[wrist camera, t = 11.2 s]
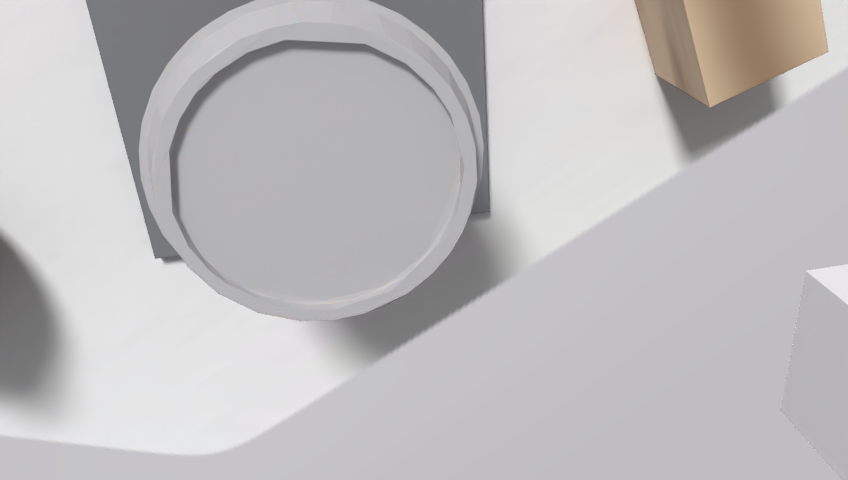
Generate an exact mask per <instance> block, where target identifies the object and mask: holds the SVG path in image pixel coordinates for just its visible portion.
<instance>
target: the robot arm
mask: <svg viewBox="0 0 848 480" xmlns="http://www.w3.org/2000/svg"><path fill="white" fill-rule="evenodd" d="M781 412H782V413H783V414H784V415H785V416H786V417H787V418H788V419H789V421H790V422H791V423H792V424H793V425H794V426H795V427H796V428H797V430H798V431H799V432H800V433H801V434H802V435H803V436H804V438H805V439H806V440H807V441H808V442H809V443H810V444H811V446H812V447H813V448H814V449H815V450H816V451H817V452H818V453H819V455H820V456H821V457H822V458H823V459H824V460H825V461H826V462H827V464H828V465H829V466H830V467H831V468H832V469H833V470H834V471H835V473H836V474H837V475H838V476H839V477H840V478H841V479H842V480H848V264H847V265H840V266H834V267H828V268H821V269H815V270H809V271H806V274H805V279H804V285H803V291H802V296H801V302H800V307H799V312H798V318H797V323H796V329H795V334H794V340H793V345H792V351H791V356H790V362H789V367H788V373H787V378H786V384H785V389H784V395H783V400H782V406H781Z"/></svg>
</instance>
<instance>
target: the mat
mask: <svg viewBox="0 0 848 480" xmlns="http://www.w3.org/2000/svg"><path fill="white" fill-rule="evenodd" d="M252 1H255V0H86V3H87V7H88V10H89V14H90V18H91V21H92V25H93V29H94V33H95V36H96V40H97V44H98V47H99V51H100V55H101V59H102V62H103V66H104V70H105V74H106V77H107V81H108V85H109V88H110V92H111V96H112V100H113V103H114V107H115V111H116V114H117V118H118V122H119V126H120V129H121V133H122V137H123V141H124V144H125V148H126V152H127V155H128V159H129V163H130V167H131V170H132V174H133V178H134V181H135V185H136V189H137V193H138V196H139V200H140V204H141V208H142V211H143V215H144V219H145V222H146V226H147V230H148V234H149V237H150V241H151V245H152V248H153V252H154V256H155V259H157V258H164V257H171V256H178V255H179V254H178V253H177V251H176V250H175V249H174V248H173V247H172V245H171V244H170V243H169V242H168V241H167V239H166V238H165V237H164V236H163V234H162V232H161V230H160V228H159V226H158V224H157V222H156V220H155V218H154V216H153V214H152V212H151V210H150V208H149V206H148V202H147V199H146V195H145V192H144V188H143V185H142V181H141V174H140V161H139V143H140V133H141V124H142V120H143V117H144V114H145V111H146V108H147V105H148V102H149V99H150V95H151V92H152V89H153V88H154V86H155V84H156V83H157V81H158V79H159V78H160V76H161V74H162V72H163V71H164V69H165V67H166V66H167V64H168V63H169V61H170V60H171V59H172V58H173V56H174V55H175V54H176V53H177V52H178V51H179V50H180V48H181V47H182V46H183V45H184V44H185V43H186V42H187V41H188V40H189V39H190V38H191V37H192V36H193V35H194V34H195V33H197V32H198V31H199V30H200V29H201V28H203V27H204V26H206V25H207V24H209V23H210V22H212V21H214V20H215V19H217V18H218V17H220V16H222V15H223V14H225V13H227V12H228V11H230V10H233V9H235V8H237V7H240V6H242V5H245V4H247V3H249V2H252ZM369 1H372V2H374V3H377V4H379V5H381V6H383V7H386V8H388V9H390V10H393V11H395V12H397V13H399V14H401V15H403V16H404V17H406V18H407V19H409V20H410V21H411V22H413V23H414V24H416V25H417V26H418V27H420V28H421V29H422V30H424V31H425V32H427V33H428V34H429V35H430V36H431V37H432V38H433V39H434V40H435V41H436V42H437V43H438V44H439V45H440V46H441V47H442V48H443V49H444V50H445V51H446V52H447V53H448V54H449V56H450V57H451V59H452V60H453V62H454V63H455V65H456V66H457V68H458V69H459V71H460V72H461V74H462V75H463V77H464V78H465V80H466V81H467V84H468V86H469V89H470V92H471V94H472V97H473V99H474V102H475V105H476V107H477V110H478V112H479V115H480V122H481V130H482V137H483V145H484V150H483V167H482V178H481V182H480V185H479V189H478V193H477V196H476V200H475V203H474V205H473V208H472V210H471V213H470V214H477V213H484V212H489V188H488V158H487V129H486V100H485V71H484V41H483V12H482V0H369Z"/></svg>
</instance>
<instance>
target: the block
mask: <svg viewBox="0 0 848 480" xmlns="http://www.w3.org/2000/svg"><path fill="white" fill-rule="evenodd" d="M635 3H636V7H637V10H638V14H639V17H640V21H641V24H642V28H643V32H644V35H645V39H646V42H647V46H648V49H649V53H650V56H651V60H652V64H653V67H654V71H655V74H656V75H657V76H659V77H660V78H662V79H664V80H665V81H667V82H669V83H670V84H672V85H674V86H675V87H677V88H678V89H680V90H682V91H683V92H685V93H687V94H688V95H690V96H692V97H693V98H695V99H697V100H698V101H700V102H701V103H703V104H705V105H706V106H708V107H712V106H715V105H717V104H719V103H721V102H723V101H725V100H727V99H729V98H731V97H734V96H736V95H738V94H740V93H742V92H744V91H746V90H748V89H751V88H753V87H755V86H757V85H759V84H761V83H763V82H765V81H768V80H770V79H772V78H774V77H776V76H778V75H780V74H782V73H785V72H787V71H789V70H791V69H793V68H795V67H797V66H799V65H802V64H804V63H806V62H808V61H810V60H812V59H814V58H816V57H818V56H821V55H823V54H825V53H827V52H828V45H827V39H826V33H825V26H824V20H823V13H822V7H821V1H820V0H635Z"/></svg>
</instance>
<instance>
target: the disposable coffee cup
mask: <svg viewBox="0 0 848 480" xmlns="http://www.w3.org/2000/svg"><path fill="white" fill-rule="evenodd" d="M483 150H484V145H483V137H482V130H481V122H480V115H479V112H478V110H477V107H476V105H475V102H474V99H473V97H472V94H471V92H470V89H469V86H468V84H467V81H466V80H465V78H464V77H463V75H462V74H461V72H460V71H459V69H458V68H457V66H456V65H455V63H454V62H453V60H452V59H451V57H450V56H449V54H448V53H447V52H446V51H445V50H444V49H443V48H442V47H441V46H440V45H439V44H438V43H437V42H436V41H435V40H434V39H433V38H432V37H431V36H430V35H429V34H428V33H427V32H425V31H424V30H422V29H421V28H420V27H418V26H417V25H416V24H414V23H413V22H411V21H410V20H409V19H407V18H406V17H404V16H403V15H401V14H399V13H397V12H395V11H393V10H390V9H388V8H386V7H383V6H381V5H379V4H377V3H374V2H372V1H369V0H255V1H252V2H249V3H247V4H245V5H242V6H240V7H237V8H235V9H233V10H230V11H228V12H227V13H225V14H223V15H222V16H220V17H218V18H217V19H215V20H214V21H212V22H210V23H209V24H207V25H206V26H204V27H203V28H201V29H200V30H199V31H198V32H197V33H195V34H194V35H193V36H192V37H191V38H190V39H189V40H188V41H187V42H186V43H185V44H184V45H183V46H182V47H181V48H180V50H179V51H178V52H177V53H176V54H175V55H174V56H173V58H172V59H171V60H170V61H169V63H168V64H167V66H166V67H165V69H164V71H163V72H162V74H161V76H160V78H159V79H158V81H157V83H156V84H155V86H154V88H153V89H152V92H151V95H150V99H149V102H148V105H147V108H146V111H145V114H144V117H143V120H142V124H141V133H140V143H139V161H140V174H141V181H142V185H143V188H144V192H145V195H146V199H147V202H148V206H149V208H150V210H151V212H152V214H153V216H154V218H155V220H156V222H157V224H158V226H159V228H160V230H161V232H162V234H163V236H164V237H165V238H166V239H167V241H168V242H169V243H170V244H171V245H172V247H173V248H174V249H175V250H176V251H177V253H178V254H179V255H180V256H181V258H182V259H183V260H184V262H185V263H186V265H187V266H188V267H189V268H190V269H191V270H192V271H193V272H194V273H195V274H197V275H198V276H199V277H200V278H201V279H202V280H203V281H205V282H206V283H207V284H208V285H209V286H210V287H211V288H213V289H214V290H215V291H216V292H217V293H218V294H220V295H222V296H224V297H227V298H229V299H231V300H233V301H235V302H237V303H239V304H241V305H243V306H245V307H247V308H249V309H251V310H254V311H256V312H258V313H262V314H267V315H272V316H277V317H283V318H288V319H293V320H298V321H316V320H338V319H342V318H347V317H351V316H356V315H360V314H365V313H367V312H369V311H372V310H374V309H376V308H379V307H381V306H383V305H386V304H388V303H390V302H392V301H394V300H396V299H398V298H400V297H402V296H404V295H406V294H408V293H409V292H410V291H411V290H413V289H414V288H415V287H416V286H418V285H419V284H420V283H421V282H423V281H424V280H425V279H426V278H428V277H429V276H430V275H431V274H432V273H433V272H434V271H435V270H436V269H437V268H438V267H439V265H440V264H441V263H442V262H443V261H444V260H445V258H446V257H447V256H448V255H449V254H450V253H451V251H452V249H453V248H454V246H455V244H456V243H457V241H458V239H459V238H460V236H461V234H462V232H463V230H464V228H465V225H466V223H467V220H468V218H469V215H470V213H471V210H472V208H473V205H474V203H475V200H476V196H477V193H478V189H479V185H480V182H481V178H482V167H483Z"/></svg>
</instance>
